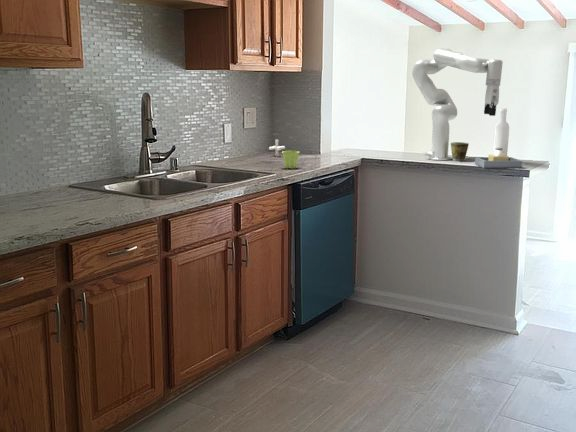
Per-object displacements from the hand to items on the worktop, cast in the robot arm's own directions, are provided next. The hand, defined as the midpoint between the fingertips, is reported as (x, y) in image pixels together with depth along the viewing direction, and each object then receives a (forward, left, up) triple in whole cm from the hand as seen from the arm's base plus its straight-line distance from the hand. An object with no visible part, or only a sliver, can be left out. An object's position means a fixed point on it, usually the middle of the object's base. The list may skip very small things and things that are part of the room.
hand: (489, 114), depth 341 cm
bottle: (+10, +7, -27) cm, 30 cm away
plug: (+3, -11, -26) cm, 28 cm away
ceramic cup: (-12, +13, -27) cm, 33 cm away
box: (+3, -11, -27) cm, 29 cm away
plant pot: (-109, -15, -27) cm, 114 cm away
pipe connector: (-117, +35, -27) cm, 125 cm away
